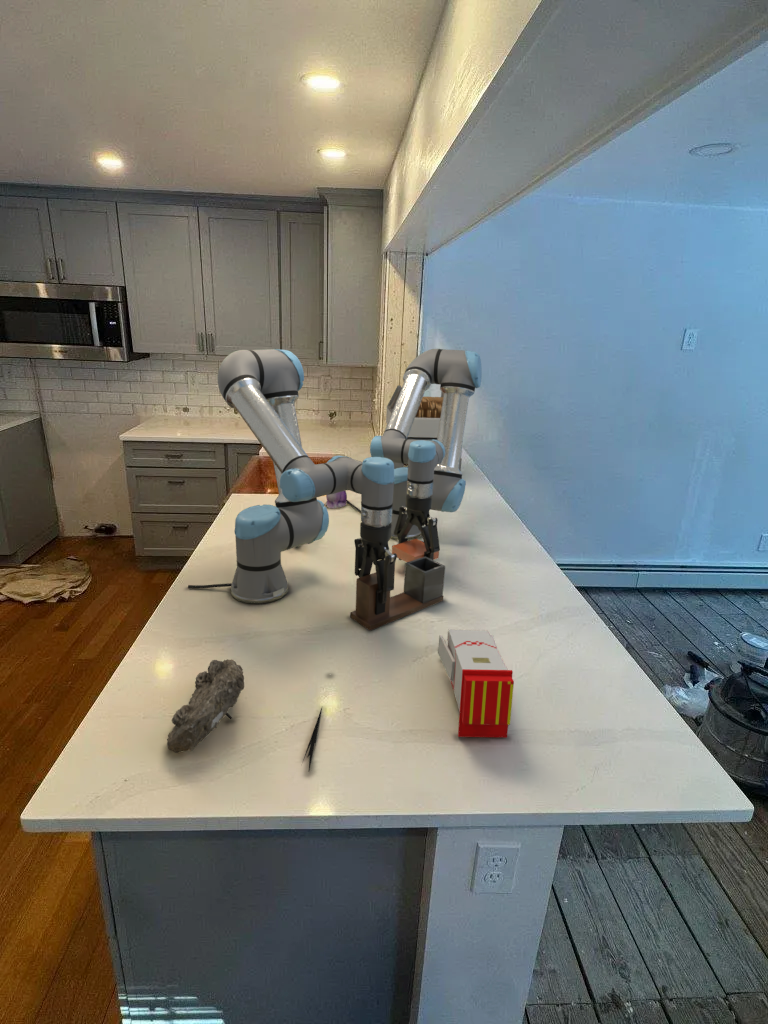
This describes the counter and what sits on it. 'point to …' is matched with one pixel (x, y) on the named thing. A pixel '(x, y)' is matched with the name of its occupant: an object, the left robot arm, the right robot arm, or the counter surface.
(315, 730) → the feather
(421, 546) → the glossy orange tile
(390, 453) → the right robot arm
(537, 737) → the counter surface
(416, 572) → the brown wooden desk organizer
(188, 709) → the fossil
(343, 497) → the figurine
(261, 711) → the counter surface
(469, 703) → the toy
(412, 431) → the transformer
